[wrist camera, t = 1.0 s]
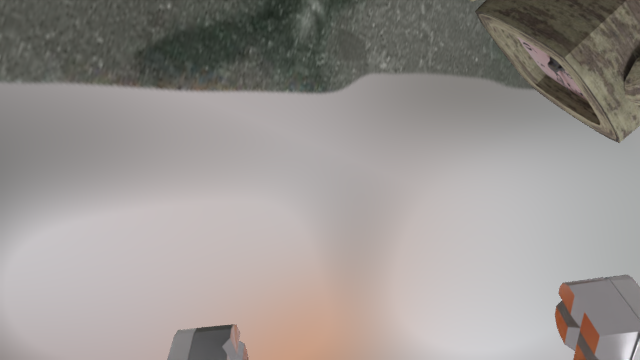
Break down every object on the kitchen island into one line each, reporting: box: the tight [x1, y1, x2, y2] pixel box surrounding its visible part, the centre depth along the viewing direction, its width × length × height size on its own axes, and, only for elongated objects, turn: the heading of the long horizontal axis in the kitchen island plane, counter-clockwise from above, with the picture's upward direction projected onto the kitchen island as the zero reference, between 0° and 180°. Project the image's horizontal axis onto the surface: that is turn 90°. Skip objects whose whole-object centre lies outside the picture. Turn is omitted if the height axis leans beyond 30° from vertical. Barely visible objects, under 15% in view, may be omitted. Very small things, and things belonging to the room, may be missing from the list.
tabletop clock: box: [470, 0, 640, 143], centre depth 40 cm, size 14×9×25 cm, turn 46°
